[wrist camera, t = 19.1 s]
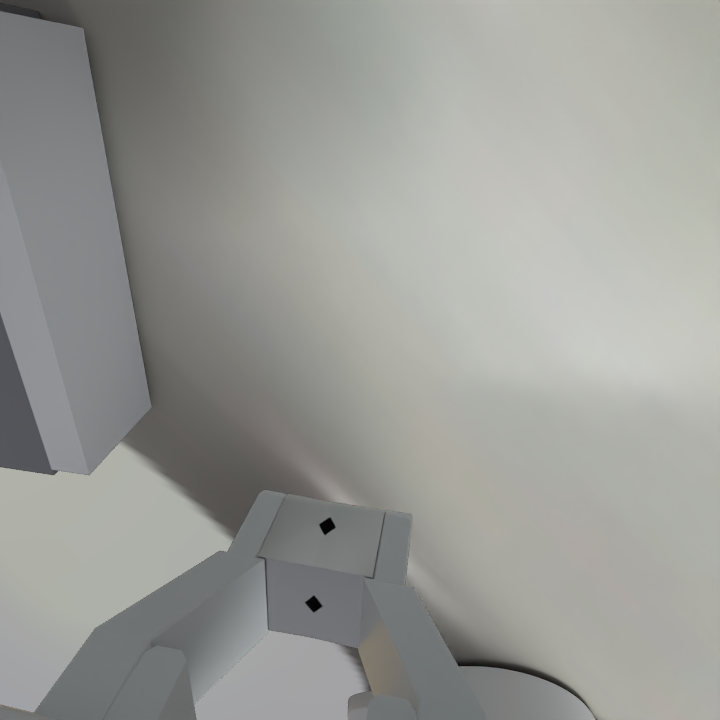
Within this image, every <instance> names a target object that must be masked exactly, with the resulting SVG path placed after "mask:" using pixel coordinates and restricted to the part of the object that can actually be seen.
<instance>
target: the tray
mask: <svg viewBox="0 0 720 720" xmlns="http://www.w3.org/2000/svg"><path fill="white" fill-rule="evenodd" d="M0 314H1V317H2V320H3V323H4V326H5V329H6V332H7V335H8V338H9V341H10V344H11V347H12V350H13V353H14V356H15V359H16V362H17V365H18V368H19V371H20V374H21V378H22V381H23V384H24V387H25V390H26V393H27V396H28V399H29V402H30V405H31V408H32V411H33V414H34V417H35V420H36V423H37V426H38V429H39V432H40V435H41V438H42V441H43V444H44V448H45V451H46V454H47V457H48V460H49V463H50V466H51V469H52V470H57V471H64V472H71V473H77V474H84V475H90V474H91V473H92V472H93V471H94V470H95V469H96V467H97V466H98V465H99V464H100V463H101V462H102V461H103V460H104V459H105V458H106V457H107V455H108V454H109V453H110V452H111V451H112V450H113V449H114V448H115V447H116V446H117V445H118V443H119V442H120V441H121V440H122V439H123V438H124V437H125V436H126V435H127V434H128V433H129V431H130V430H131V429H132V428H133V427H134V426H135V425H136V424H137V423H138V422H139V421H140V419H141V418H142V417H143V416H144V415H145V414H146V413H147V412H148V411H149V410H150V409H151V402H150V396H149V391H148V385H147V380H146V374H145V369H144V363H143V358H142V352H141V347H140V341H139V335H138V330H137V324H136V319H135V313H134V308H133V302H132V297H131V291H130V286H129V280H128V274H127V269H126V263H125V258H124V252H123V247H122V241H121V236H120V230H119V225H118V219H117V214H116V208H115V202H114V197H113V191H112V186H111V180H110V175H109V169H108V164H107V158H106V153H105V147H104V141H103V136H102V130H101V125H100V119H99V114H98V108H97V103H96V97H95V92H94V86H93V80H92V75H91V69H90V64H89V58H88V53H87V47H86V42H85V36H84V31H83V28H81V27H76V26H71V25H66V24H61V23H56V22H51V21H46V20H41V19H36V18H31V17H26V16H21V15H16V14H12V13H7V12H2V11H0Z"/></svg>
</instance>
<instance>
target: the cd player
mask: <svg viewBox="0 0 720 720" xmlns="http://www.w3.org/2000/svg"><path fill="white" fill-rule="evenodd" d="M0 11H2V12H7V13H12V14H16V15H21V16H26V17H31V18H36V19H40V15H39V12H38V11H34V10H29V9H25V8H20V7H16V6H11V5H7V4H2V3H0ZM0 467H4V468H10V469H16V470H23V471H30V472H37V473H43V474H50V475H55V473H57V472H58V471H57V470H52V469H51V466H50V463H49V460H48V457H47V454H46V451H45V448H44V444H43V441H42V438H41V435H40V432H39V429H38V426H37V423H36V420H35V417H34V414H33V411H32V408H31V405H30V402H29V399H28V396H27V393H26V390H25V387H24V384H23V381H22V378H21V374H20V371H19V368H18V365H17V362H16V359H15V356H14V353H13V350H12V347H11V344H10V341H9V338H8V335H7V332H6V329H5V326H4V323H3V320H2V317H1V314H0Z"/></svg>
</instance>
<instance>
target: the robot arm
mask: <svg viewBox="0 0 720 720" xmlns="http://www.w3.org/2000/svg"><path fill="white" fill-rule="evenodd" d="M411 527H412V515H411V514H409V513H402V512H395V511H389V510H381V509H374V508H368V507H362V506H355V505H349V504H342V503H335V502H330V501H324V500H319V499H314V498H309V497H304V496H298V495H293V494H284V493H279V492H274V491H269V490H263V491H262V492H261V493H259V494H258V496H257V498H256V500H255V502H254V503H253V505H252V507H251V509H250V511H249V513H248V515H247V516H246V518H245V520H244V522H243V524H242V526H241V527H240V529H239V531H238V533H237V535H236V537H235V539H234V540H233V542H232V544H231V546H230V548H229V550H228V552H224V551H219V552H217V553H215V554H214V555H212V556H211V557H209V558H207V559H206V560H204V561H203V562H201V563H199V564H198V565H196V566H194V567H193V568H191V569H190V570H188V571H186V572H185V573H183V574H182V575H180V576H178V577H177V578H175V579H174V580H172V581H170V582H169V583H167V584H166V585H164V586H163V587H161V588H159V589H158V590H156V591H154V592H153V593H151V594H150V595H148V596H146V597H145V598H143V599H142V600H140V601H138V602H137V603H135V604H133V605H132V606H130V607H129V608H127V609H126V610H124V611H122V612H121V613H119V614H117V615H116V616H114V617H113V618H111V619H109V620H108V621H106V622H105V623H103V624H102V625H100V626H98V627H97V628H95V629H94V630H93V632H92V633H91V635H90V636H89V637H88V639H87V640H86V642H85V643H84V644H83V646H82V647H81V648H80V650H79V651H78V653H77V654H76V655H75V657H74V658H73V659H72V661H71V663H70V664H69V665H68V666H67V668H66V669H65V670H64V672H63V673H62V675H61V676H60V677H59V679H58V680H57V681H56V683H55V684H54V686H53V687H52V688H51V690H50V691H49V693H48V694H47V695H46V697H45V698H44V699H43V701H42V702H41V703H40V705H39V706H38V708H37V709H36V710H35V712H34V713H33V712H29V711H25V710H21V709H17V708H13V707H9V706H5V705H0V720H196V714H195V708H194V705H195V704H196V702H198V701H199V699H201V698H202V697H203V696H204V695H205V694H206V693H207V692H208V691H209V690H210V689H211V688H212V687H213V686H214V685H215V684H216V683H217V682H218V681H219V680H220V679H221V678H222V677H223V676H224V675H225V674H226V673H227V672H228V671H230V669H231V668H233V667H234V665H236V664H237V663H238V662H239V661H240V660H241V659H242V658H243V657H244V656H245V655H246V654H247V653H248V652H249V651H250V650H251V649H252V648H253V647H254V646H255V645H256V644H257V643H258V642H259V641H260V640H261V639H262V638H263V637H264V636H266V634H268V630H271V631H277V632H283V633H289V634H294V635H300V636H306V637H311V638H316V639H320V640H324V641H329V642H333V643H337V644H341V645H345V646H350V647H354V648H358V652H359V655H360V658H361V661H362V664H363V667H364V670H365V673H366V676H367V679H368V682H369V685H370V688H371V691H368V692H363V693H359V694H355V695H353V696H351V697H350V698H349V700H348V719H349V720H596V719H595V718H594V716H593V714H592V713H591V711H590V710H589V709H588V708H587V706H586V705H585V704H584V703H583V702H582V701H580V700H579V699H578V698H577V697H575V696H574V695H573V694H571V693H570V692H568V691H567V690H565V689H563V688H561V687H559V686H557V685H555V684H553V683H551V682H549V681H546V680H543V679H541V678H538V677H535V676H532V675H528V674H525V673H521V672H517V671H512V670H507V669H500V668H492V667H480V666H459V667H458V665H457V663H456V661H455V659H454V658H453V656H452V654H451V652H450V651H449V649H448V647H447V645H446V644H445V642H444V640H443V638H442V637H441V635H440V633H439V631H438V629H437V628H436V626H435V624H434V622H433V621H432V619H431V617H430V615H429V614H428V612H427V610H426V608H425V606H424V605H423V603H422V601H421V599H420V598H419V596H418V594H417V592H416V591H415V589H414V587H412V586H407V585H405V583H406V574H407V565H408V555H409V546H410V536H411Z"/></svg>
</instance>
